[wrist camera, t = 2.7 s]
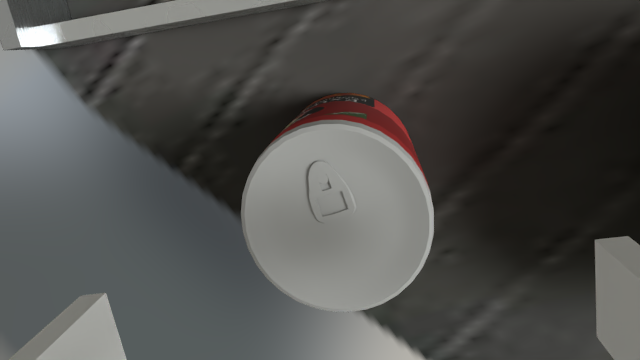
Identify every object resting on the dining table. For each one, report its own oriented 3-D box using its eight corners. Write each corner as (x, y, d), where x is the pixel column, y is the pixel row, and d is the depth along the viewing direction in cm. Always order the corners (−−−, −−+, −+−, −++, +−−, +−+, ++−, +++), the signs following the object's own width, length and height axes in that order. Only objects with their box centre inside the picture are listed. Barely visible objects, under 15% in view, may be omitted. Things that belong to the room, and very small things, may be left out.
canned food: (365, 64, 28) (361, 80, 17) (439, 177, 29) (476, 255, 19) (259, 137, 30) (197, 192, 19) (333, 240, 31) (314, 344, 21)
